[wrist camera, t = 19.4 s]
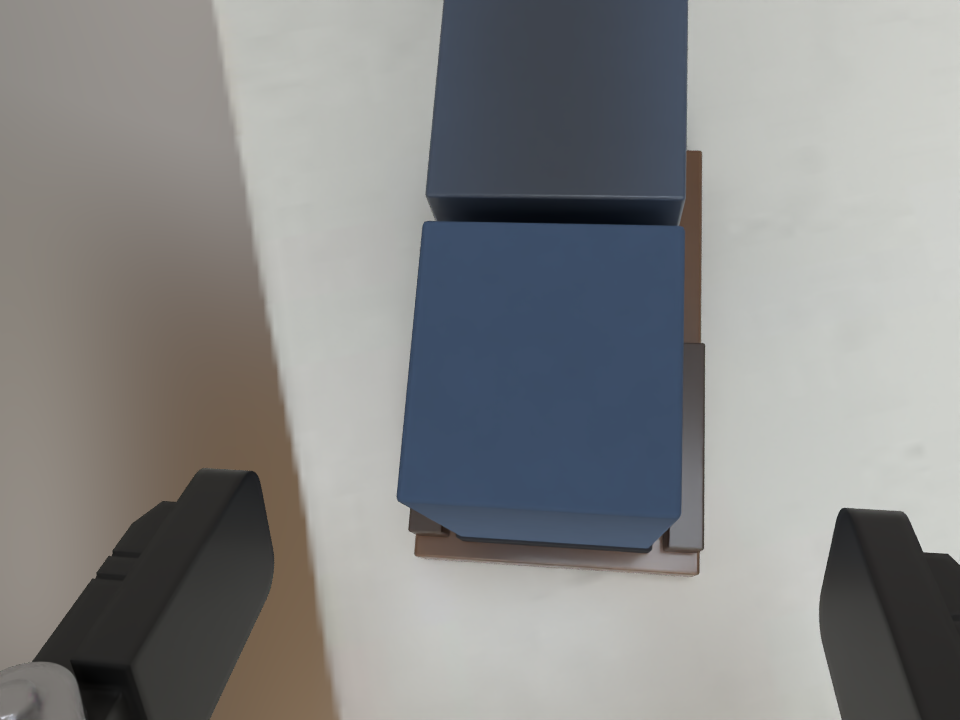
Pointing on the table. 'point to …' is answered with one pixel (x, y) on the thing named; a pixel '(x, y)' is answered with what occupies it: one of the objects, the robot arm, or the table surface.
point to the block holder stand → (574, 185)
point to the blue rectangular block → (547, 383)
